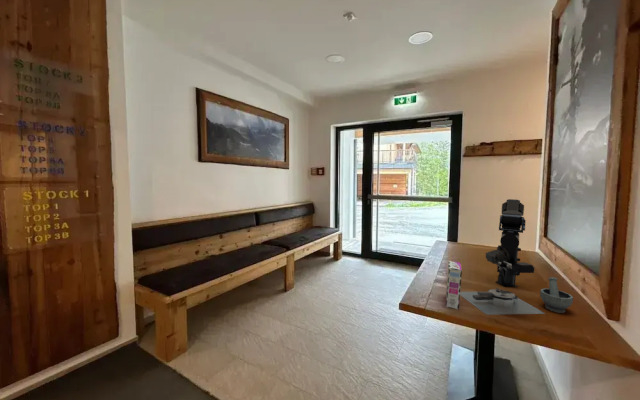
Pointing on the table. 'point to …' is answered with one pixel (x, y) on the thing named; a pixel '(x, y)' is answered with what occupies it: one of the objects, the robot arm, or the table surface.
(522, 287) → the table surface
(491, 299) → the cooker pot
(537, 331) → the table surface
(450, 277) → the candy bar box
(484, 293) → the lid
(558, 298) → the mortar and pestle
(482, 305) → the slate board
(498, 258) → the robot arm
